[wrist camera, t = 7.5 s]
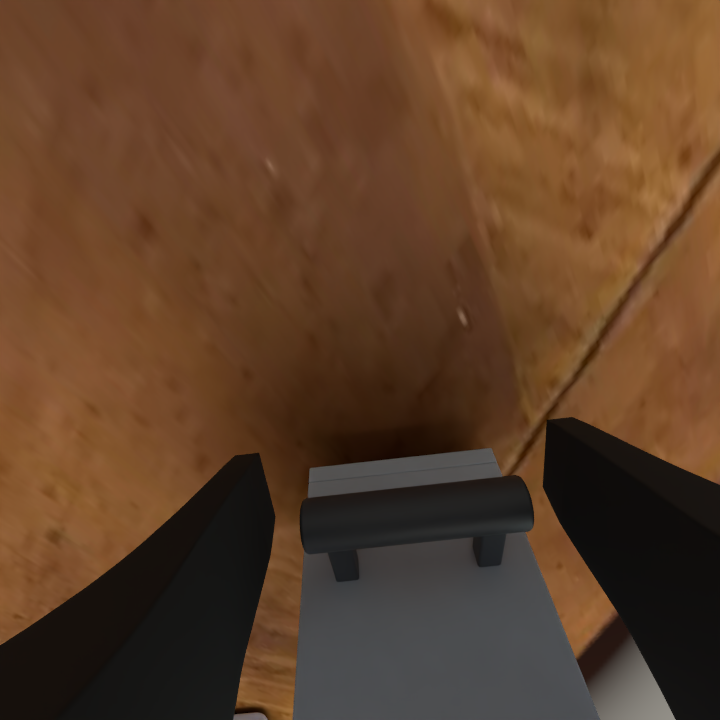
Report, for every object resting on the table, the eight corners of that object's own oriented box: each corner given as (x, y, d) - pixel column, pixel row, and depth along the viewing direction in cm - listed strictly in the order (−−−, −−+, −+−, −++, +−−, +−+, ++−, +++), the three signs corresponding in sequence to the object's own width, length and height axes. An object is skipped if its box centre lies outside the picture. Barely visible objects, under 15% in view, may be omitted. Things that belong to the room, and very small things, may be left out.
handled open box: (552, 789, 11) (652, 682, 6) (335, 807, 11) (249, 720, 6) (480, 545, 17) (499, 381, 12) (336, 559, 17) (291, 405, 12)
